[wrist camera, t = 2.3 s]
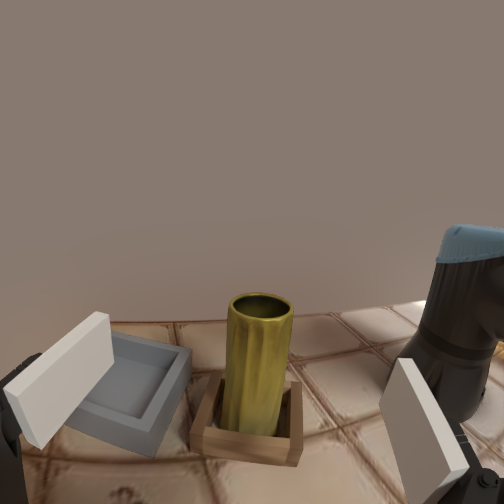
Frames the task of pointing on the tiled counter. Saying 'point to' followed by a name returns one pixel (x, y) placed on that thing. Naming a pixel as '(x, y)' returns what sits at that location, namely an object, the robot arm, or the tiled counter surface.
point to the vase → (256, 362)
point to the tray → (135, 394)
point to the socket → (242, 443)
